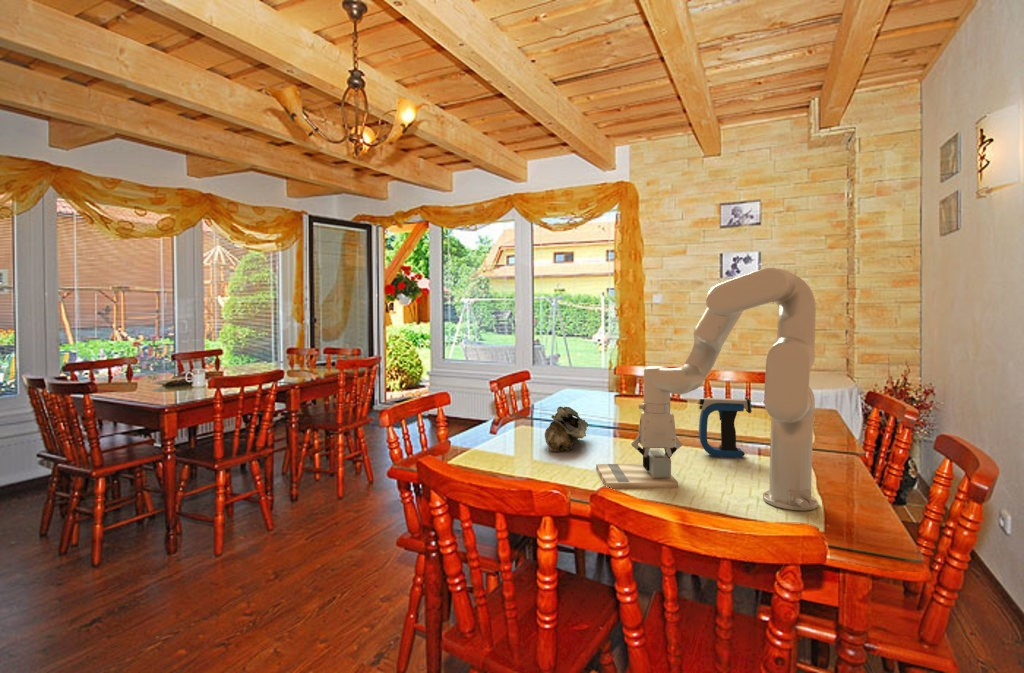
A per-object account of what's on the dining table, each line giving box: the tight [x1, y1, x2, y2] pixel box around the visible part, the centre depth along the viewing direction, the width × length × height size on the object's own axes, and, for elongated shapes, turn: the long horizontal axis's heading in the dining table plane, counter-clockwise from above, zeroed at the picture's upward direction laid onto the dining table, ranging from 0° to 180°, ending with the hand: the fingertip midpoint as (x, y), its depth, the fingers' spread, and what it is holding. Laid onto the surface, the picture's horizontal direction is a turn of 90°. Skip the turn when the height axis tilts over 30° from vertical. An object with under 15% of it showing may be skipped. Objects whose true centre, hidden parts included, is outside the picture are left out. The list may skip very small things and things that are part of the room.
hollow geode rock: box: [544, 405, 590, 453], centre depth 200 cm, size 28×13×15 cm
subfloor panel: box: [595, 463, 679, 489], centre depth 161 cm, size 18×20×2 cm
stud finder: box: [648, 448, 672, 478], centre depth 161 cm, size 12×5×5 cm, turn 0°
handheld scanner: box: [698, 397, 753, 459], centre depth 182 cm, size 5×16×20 cm, turn 78°
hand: (656, 468), depth 161 cm, fingers closed on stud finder, 5 cm apart
